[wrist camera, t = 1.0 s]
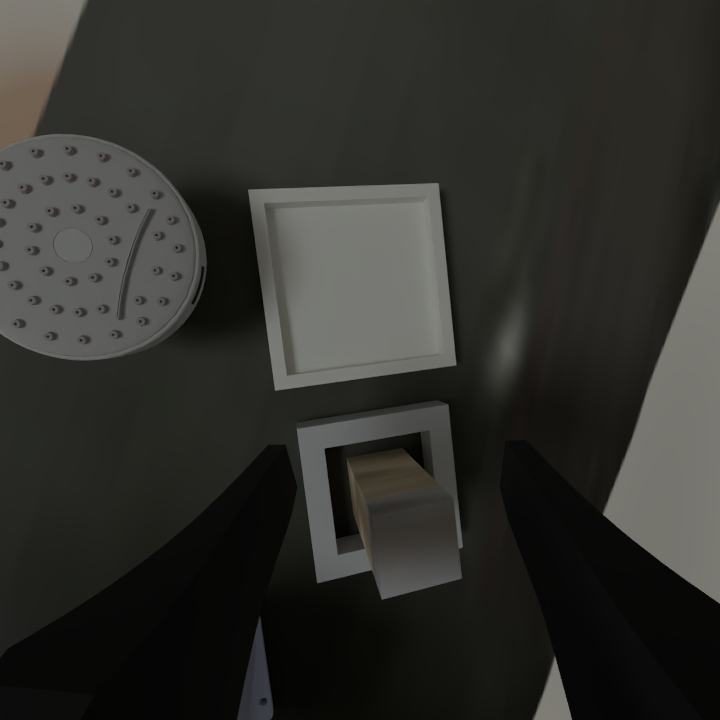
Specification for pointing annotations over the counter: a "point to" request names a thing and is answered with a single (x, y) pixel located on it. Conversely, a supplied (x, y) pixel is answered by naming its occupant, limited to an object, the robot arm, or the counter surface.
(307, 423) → the holder
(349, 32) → the counter surface
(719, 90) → the counter surface
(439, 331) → the tray
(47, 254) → the showerhead
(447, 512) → the peg
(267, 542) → the robot arm
